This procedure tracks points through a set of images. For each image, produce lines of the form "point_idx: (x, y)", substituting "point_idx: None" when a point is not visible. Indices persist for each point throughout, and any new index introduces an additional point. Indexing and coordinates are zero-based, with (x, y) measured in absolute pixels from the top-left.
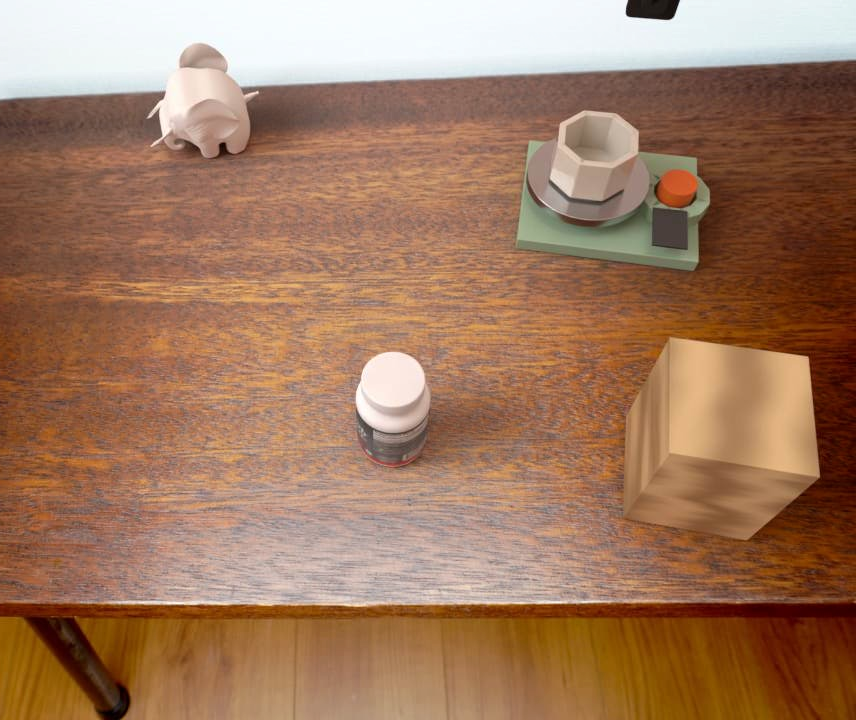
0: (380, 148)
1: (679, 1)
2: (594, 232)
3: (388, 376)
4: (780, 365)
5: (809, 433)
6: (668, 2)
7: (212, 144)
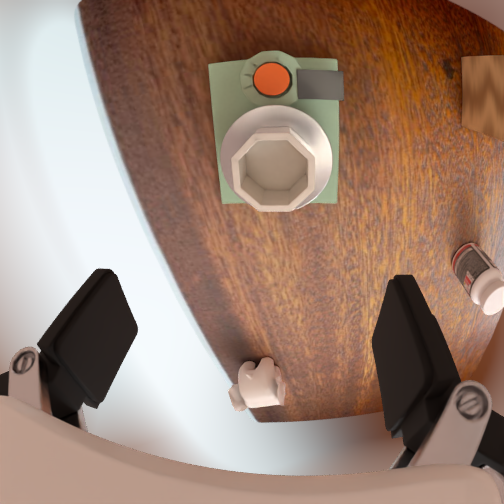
0: (249, 296)
1: (424, 300)
2: None
3: (495, 303)
4: None
5: None
6: (438, 328)
7: (279, 375)
